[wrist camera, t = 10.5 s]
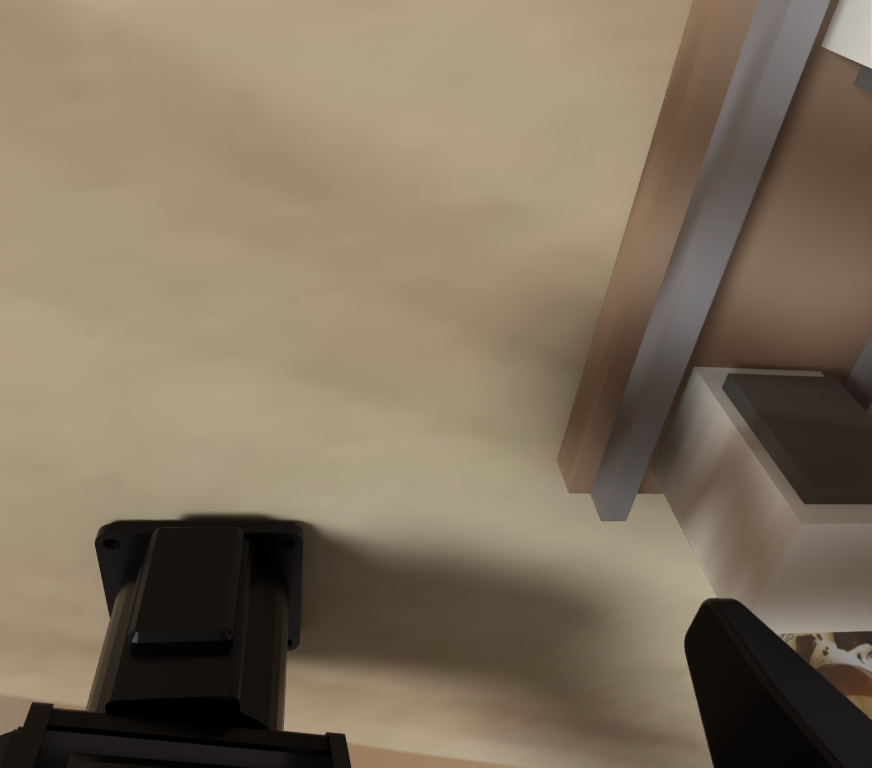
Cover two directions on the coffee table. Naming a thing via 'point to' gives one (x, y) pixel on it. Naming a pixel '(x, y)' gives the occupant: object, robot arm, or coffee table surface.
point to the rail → (747, 321)
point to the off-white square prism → (853, 37)
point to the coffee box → (840, 661)
